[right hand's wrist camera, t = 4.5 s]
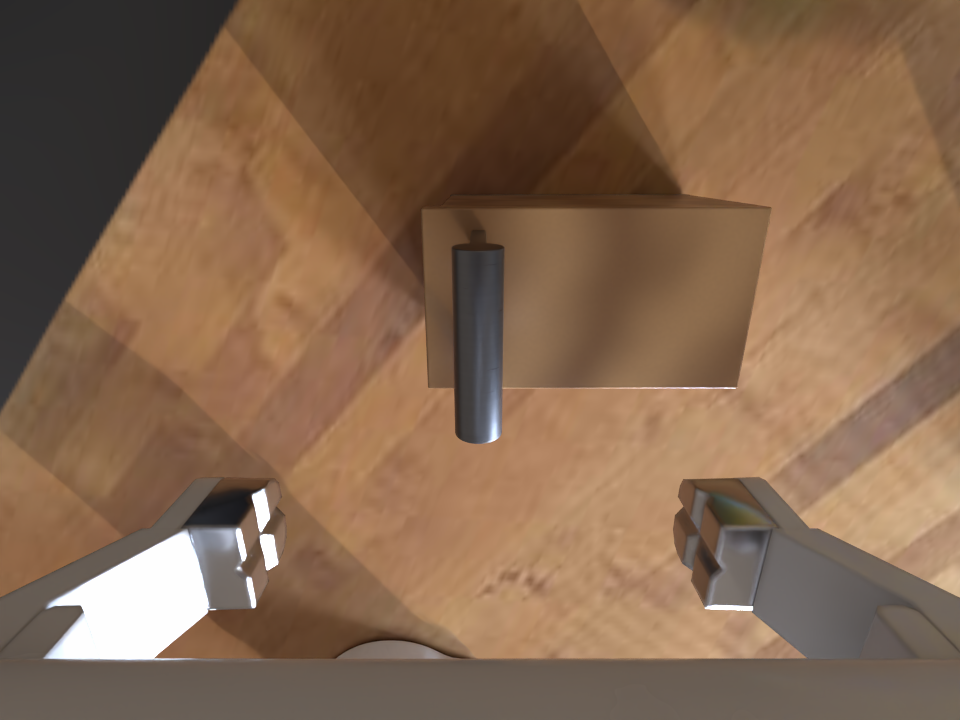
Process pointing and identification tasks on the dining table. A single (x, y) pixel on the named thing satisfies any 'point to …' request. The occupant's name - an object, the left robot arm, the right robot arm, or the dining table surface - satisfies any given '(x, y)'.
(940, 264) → the dining table surface
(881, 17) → the dining table surface
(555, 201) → the chest
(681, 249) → the lid
